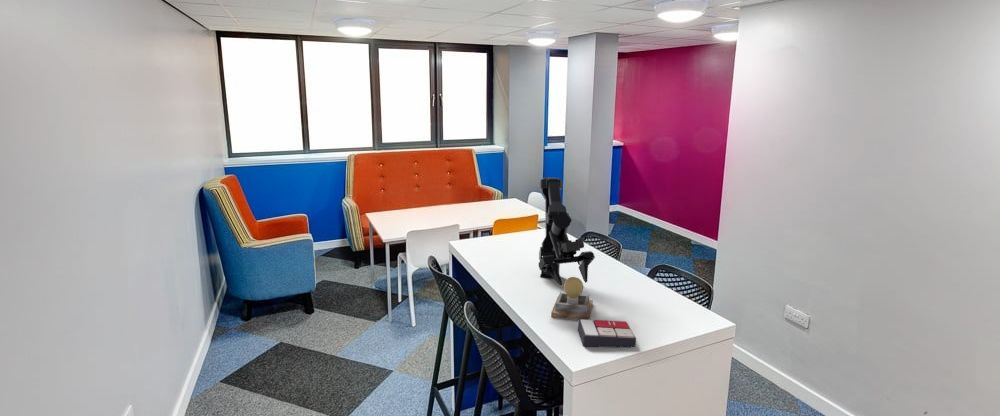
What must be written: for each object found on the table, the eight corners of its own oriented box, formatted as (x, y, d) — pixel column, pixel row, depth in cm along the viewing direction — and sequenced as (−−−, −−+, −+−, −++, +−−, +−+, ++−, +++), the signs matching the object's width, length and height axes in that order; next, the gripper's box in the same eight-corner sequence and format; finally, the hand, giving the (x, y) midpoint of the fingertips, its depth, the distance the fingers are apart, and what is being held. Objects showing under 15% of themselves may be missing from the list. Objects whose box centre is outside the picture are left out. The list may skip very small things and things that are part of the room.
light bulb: (583, 303, 174) (585, 275, 172) (580, 311, 168) (581, 282, 166) (565, 301, 176) (566, 273, 174) (560, 308, 170) (562, 279, 168)
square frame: (551, 316, 167) (551, 305, 166) (557, 300, 180) (558, 289, 179) (588, 321, 164) (589, 309, 163) (592, 304, 177) (593, 293, 176)
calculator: (636, 336, 147) (584, 333, 147) (635, 350, 148) (583, 347, 148) (627, 320, 158) (578, 317, 158) (625, 333, 159) (577, 330, 159)
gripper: (543, 232, 168) (556, 276, 161) (593, 228, 174) (608, 270, 167) (533, 248, 177) (545, 290, 170) (581, 244, 183) (595, 284, 176)
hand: (573, 283), depth 170 cm, fingers open, 9 cm apart
